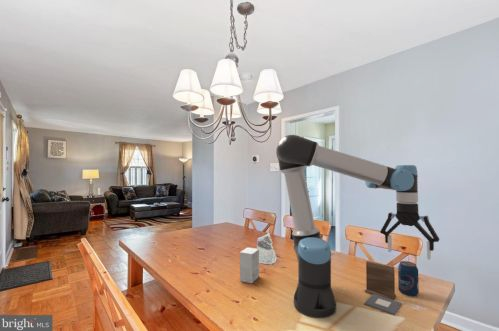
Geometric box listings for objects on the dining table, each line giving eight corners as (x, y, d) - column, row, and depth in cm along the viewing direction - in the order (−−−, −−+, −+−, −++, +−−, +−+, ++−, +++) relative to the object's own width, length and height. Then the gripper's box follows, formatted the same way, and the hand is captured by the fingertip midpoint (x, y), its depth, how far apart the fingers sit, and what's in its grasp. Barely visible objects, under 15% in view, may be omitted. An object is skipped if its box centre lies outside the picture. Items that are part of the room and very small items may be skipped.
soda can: (396, 293, 100) (395, 263, 100) (401, 287, 105) (400, 259, 105) (416, 299, 95) (416, 268, 95) (420, 293, 100) (420, 263, 100)
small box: (246, 274, 118) (247, 247, 118) (259, 276, 115) (259, 248, 116) (239, 281, 110) (239, 251, 111) (252, 283, 108) (252, 253, 108)
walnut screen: (392, 301, 93) (392, 269, 94) (365, 292, 100) (364, 262, 101) (395, 296, 97) (395, 265, 97) (369, 288, 104) (368, 259, 104)
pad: (394, 315, 84) (394, 313, 84) (364, 304, 91) (364, 302, 91) (401, 304, 91) (401, 302, 91) (372, 295, 98) (372, 293, 98)
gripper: (446, 204, 95) (448, 259, 94) (377, 199, 112) (378, 246, 111) (444, 206, 89) (446, 264, 89) (371, 201, 107) (372, 250, 106)
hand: (408, 254), depth 100 cm, fingers open, 13 cm apart
